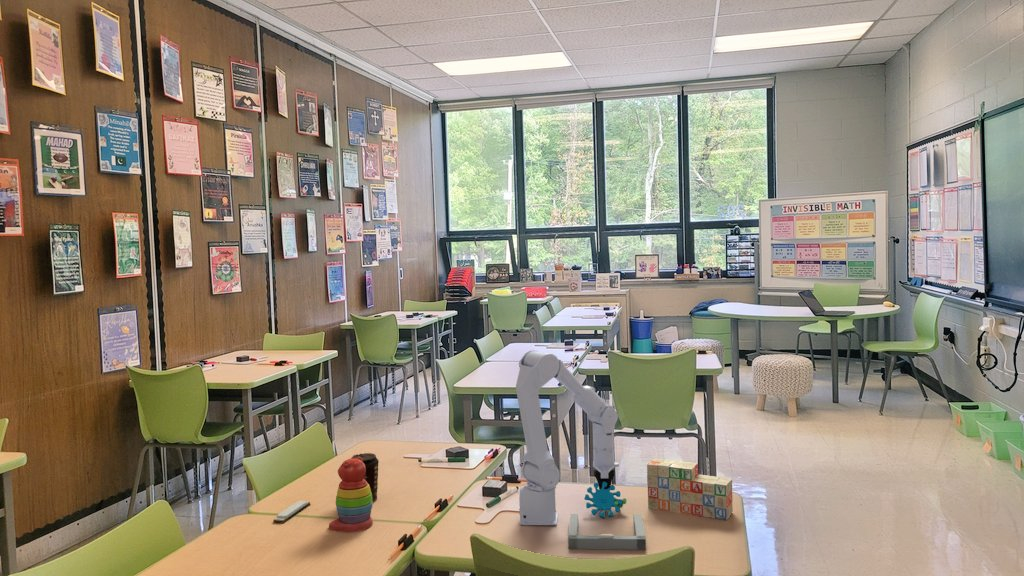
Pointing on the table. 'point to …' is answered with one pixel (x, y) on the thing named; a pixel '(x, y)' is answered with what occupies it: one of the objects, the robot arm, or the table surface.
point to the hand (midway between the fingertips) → (604, 496)
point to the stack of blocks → (687, 490)
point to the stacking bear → (353, 498)
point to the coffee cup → (370, 472)
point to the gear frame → (607, 537)
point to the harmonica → (291, 512)
